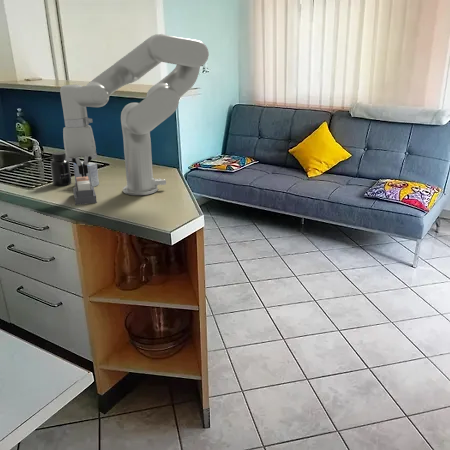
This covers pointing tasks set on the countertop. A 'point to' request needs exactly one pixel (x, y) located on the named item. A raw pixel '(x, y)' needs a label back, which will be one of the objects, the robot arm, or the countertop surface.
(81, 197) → the key panel
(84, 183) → the ivory key
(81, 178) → the terracotta key
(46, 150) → the countertop surface
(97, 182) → the medicine box
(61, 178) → the supplement bottle
